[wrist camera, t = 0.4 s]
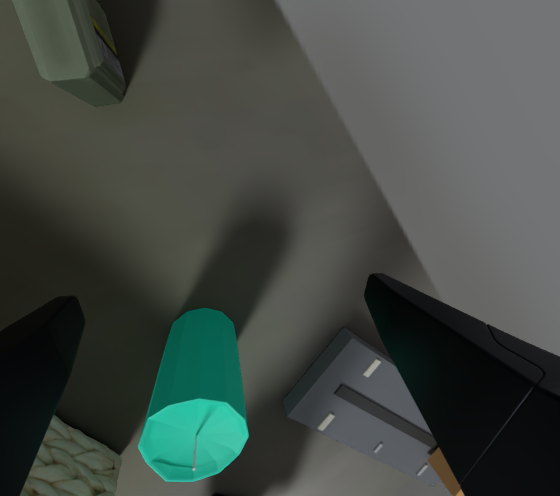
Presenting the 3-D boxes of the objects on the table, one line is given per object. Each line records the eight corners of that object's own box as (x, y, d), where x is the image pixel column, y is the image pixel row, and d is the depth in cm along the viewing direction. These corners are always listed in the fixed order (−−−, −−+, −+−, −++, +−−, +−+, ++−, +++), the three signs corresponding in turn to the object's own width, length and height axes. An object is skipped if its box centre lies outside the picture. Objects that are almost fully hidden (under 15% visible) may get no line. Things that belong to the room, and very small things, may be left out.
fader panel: (422, 470, 38) (434, 488, 36) (282, 400, 30) (287, 418, 28) (473, 414, 37) (489, 429, 35) (343, 326, 29) (353, 339, 27)
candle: (218, 296, 25) (221, 401, 14) (247, 347, 27) (270, 476, 16) (154, 326, 25) (103, 461, 13) (188, 377, 27) (168, 531, 15)
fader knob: (439, 466, 34) (468, 505, 30) (426, 460, 33) (455, 499, 29) (461, 441, 34) (494, 478, 30) (449, 434, 33) (481, 471, 29)
